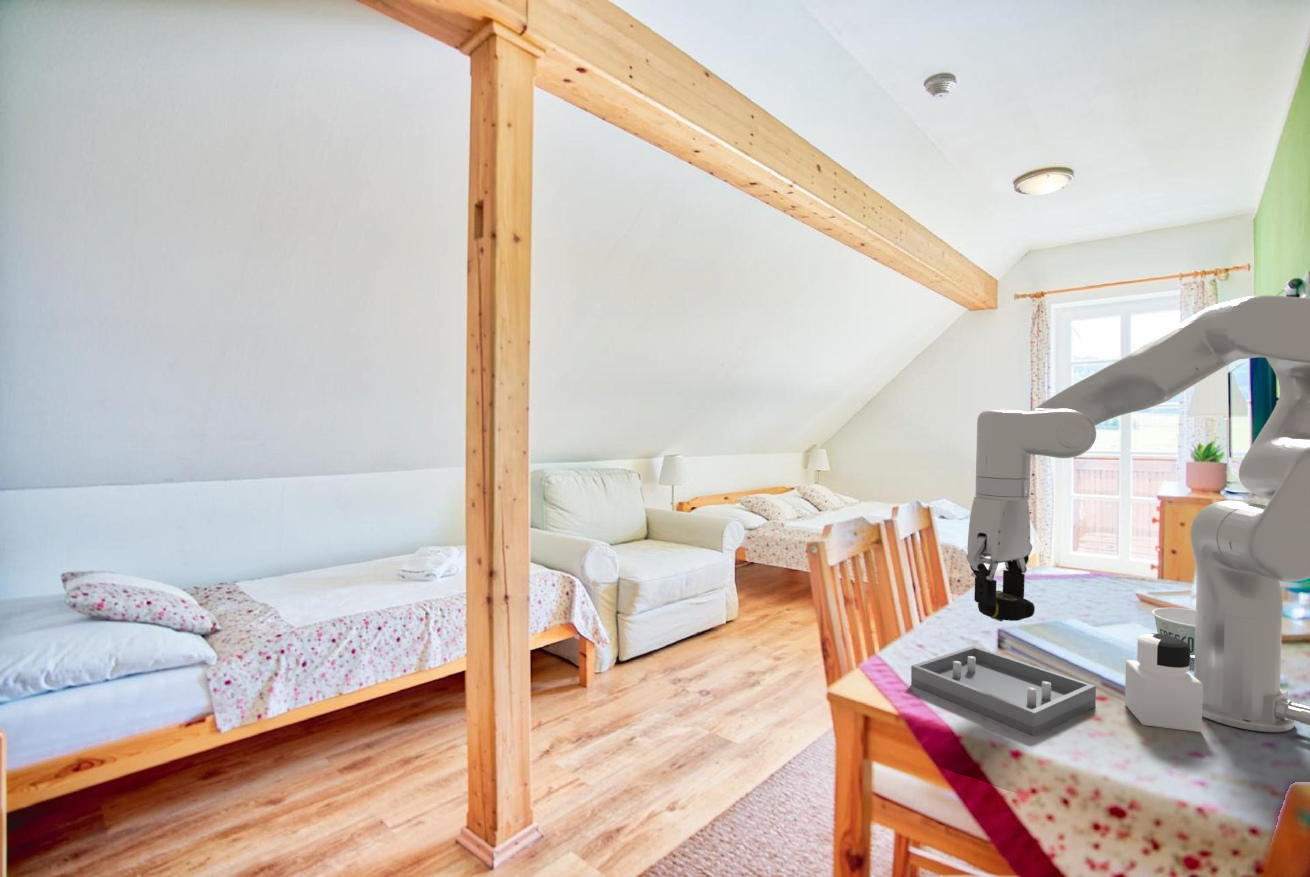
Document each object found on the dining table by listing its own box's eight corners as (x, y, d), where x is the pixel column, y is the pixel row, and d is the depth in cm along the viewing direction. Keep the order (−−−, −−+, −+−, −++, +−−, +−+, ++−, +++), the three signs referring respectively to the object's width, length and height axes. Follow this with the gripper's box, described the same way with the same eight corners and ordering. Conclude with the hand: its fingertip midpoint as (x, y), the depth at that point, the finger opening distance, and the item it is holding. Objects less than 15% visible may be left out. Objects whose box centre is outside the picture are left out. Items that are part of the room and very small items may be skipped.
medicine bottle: (1180, 711, 97) (1182, 632, 97) (1202, 733, 90) (1205, 648, 90) (1124, 704, 99) (1125, 627, 99) (1142, 725, 93) (1143, 643, 92)
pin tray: (1095, 706, 99) (1095, 682, 99) (1034, 735, 90) (1034, 709, 90) (972, 663, 116) (973, 643, 116) (911, 684, 107) (911, 662, 107)
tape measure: (1037, 623, 100) (1037, 599, 100) (1002, 627, 98) (1002, 602, 98) (1001, 610, 106) (1001, 587, 106) (967, 613, 104) (968, 590, 104)
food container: (1243, 654, 120) (1244, 619, 119) (1221, 669, 113) (1222, 632, 113) (1164, 636, 130) (1165, 603, 129) (1140, 648, 123) (1141, 614, 123)
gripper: (1010, 483, 109) (1007, 587, 110) (946, 489, 100) (943, 602, 101) (1056, 487, 103) (1053, 598, 104) (992, 494, 94) (989, 615, 95)
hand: (999, 599), depth 102 cm, fingers closed on tape measure, 7 cm apart
